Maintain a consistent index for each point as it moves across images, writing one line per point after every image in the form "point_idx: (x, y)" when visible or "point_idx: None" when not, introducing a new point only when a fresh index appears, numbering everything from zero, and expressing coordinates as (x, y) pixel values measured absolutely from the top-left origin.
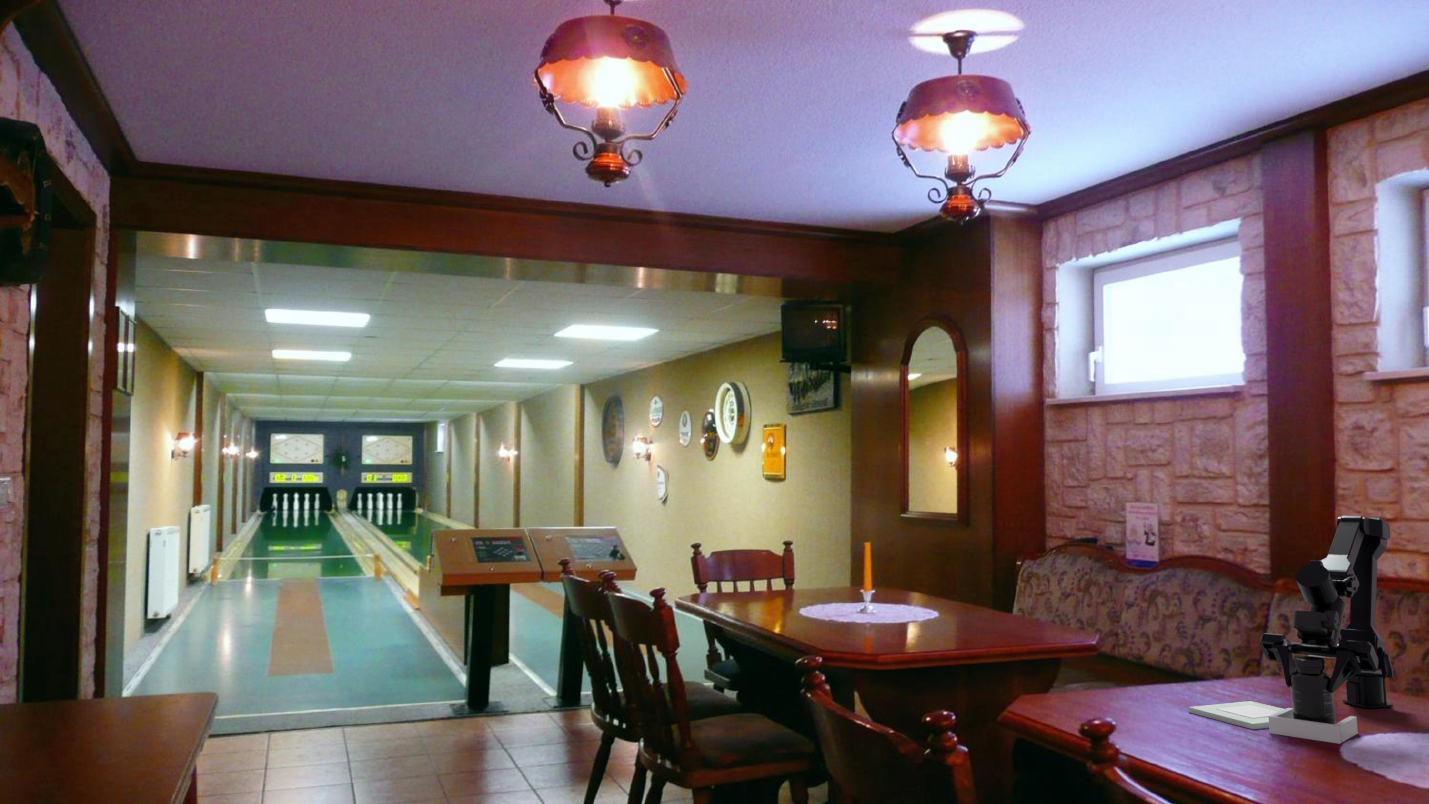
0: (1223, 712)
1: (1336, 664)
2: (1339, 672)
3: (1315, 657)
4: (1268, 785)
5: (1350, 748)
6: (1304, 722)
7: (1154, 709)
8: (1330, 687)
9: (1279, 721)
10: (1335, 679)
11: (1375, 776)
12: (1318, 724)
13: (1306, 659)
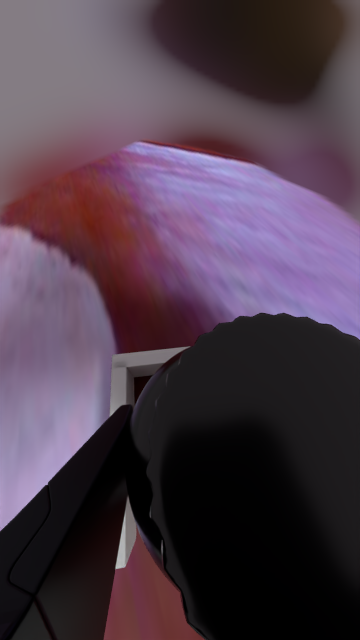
0: None
1: (24, 585)
2: (41, 493)
3: (319, 628)
4: (125, 161)
5: (97, 345)
6: (188, 347)
7: None
8: (124, 408)
9: None
10: (90, 442)
11: (42, 229)
12: (157, 351)
13: (270, 345)
